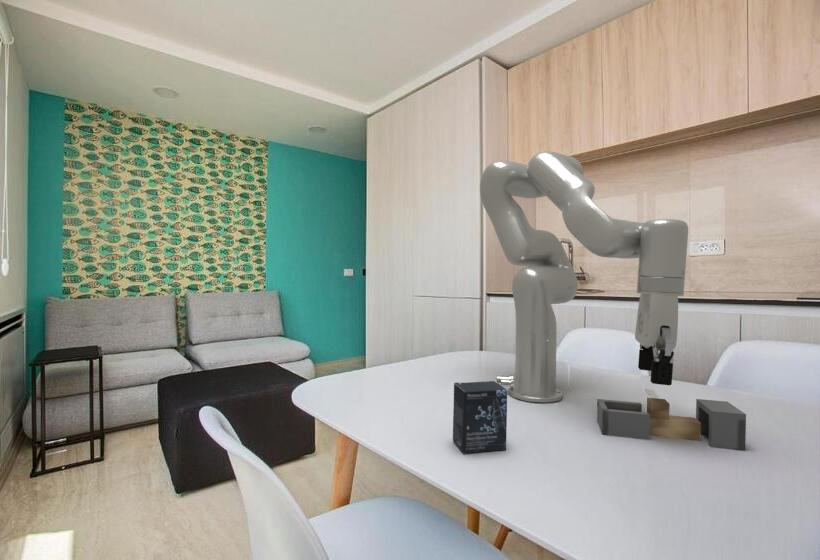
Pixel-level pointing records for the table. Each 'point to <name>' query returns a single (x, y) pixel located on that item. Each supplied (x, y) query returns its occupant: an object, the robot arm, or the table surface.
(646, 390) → the butter knife
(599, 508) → the table surface
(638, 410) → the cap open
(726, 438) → the channel bracket
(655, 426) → the slat
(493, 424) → the box
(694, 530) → the table surface
